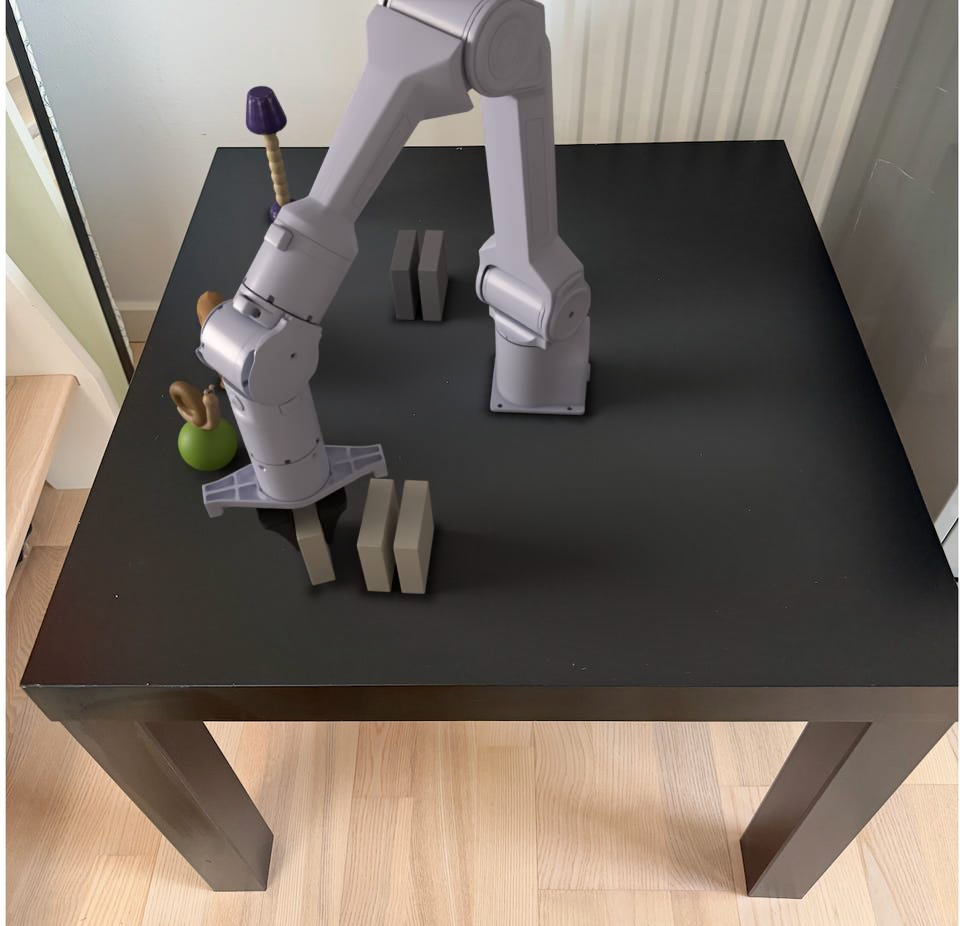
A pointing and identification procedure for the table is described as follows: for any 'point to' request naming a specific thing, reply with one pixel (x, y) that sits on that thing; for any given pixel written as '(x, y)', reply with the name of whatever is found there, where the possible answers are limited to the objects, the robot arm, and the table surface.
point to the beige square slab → (313, 543)
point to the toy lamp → (269, 138)
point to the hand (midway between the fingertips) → (314, 538)
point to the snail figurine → (203, 428)
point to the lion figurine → (209, 310)
